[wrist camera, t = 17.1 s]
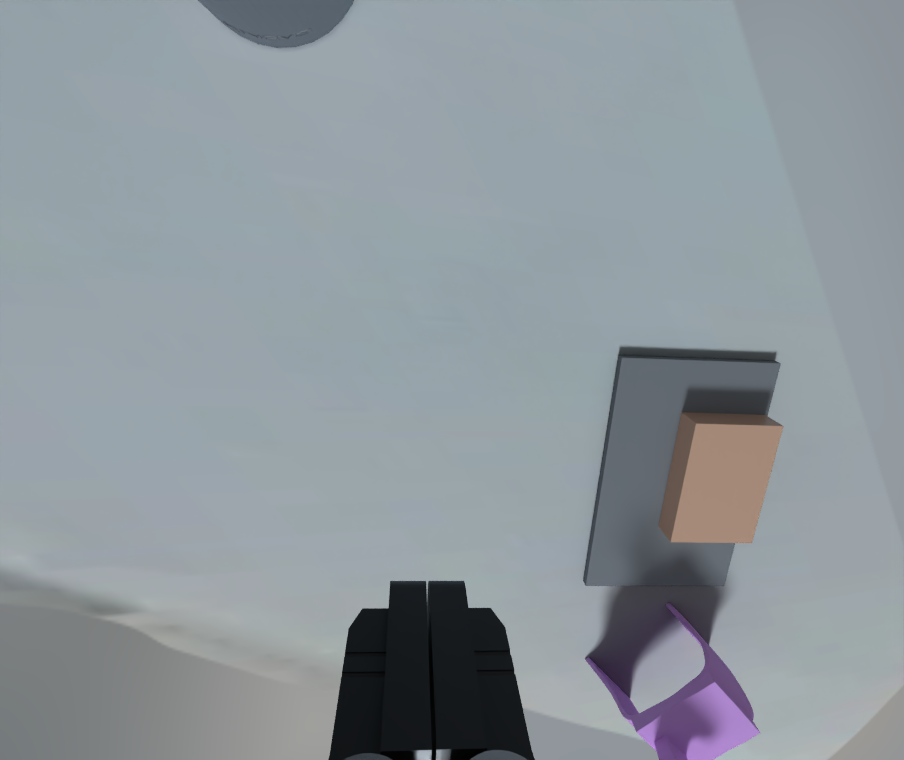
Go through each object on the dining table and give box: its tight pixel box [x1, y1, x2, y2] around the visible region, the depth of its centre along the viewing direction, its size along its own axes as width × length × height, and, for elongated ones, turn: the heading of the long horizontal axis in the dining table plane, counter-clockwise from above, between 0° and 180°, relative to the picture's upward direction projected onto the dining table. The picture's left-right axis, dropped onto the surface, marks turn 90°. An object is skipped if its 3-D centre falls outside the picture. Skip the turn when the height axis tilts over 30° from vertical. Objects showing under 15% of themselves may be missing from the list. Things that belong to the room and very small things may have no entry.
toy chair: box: [585, 602, 760, 760], centre depth 37 cm, size 8×9×15 cm
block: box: [658, 412, 783, 543], centre depth 38 cm, size 9×2×6 cm
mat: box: [583, 355, 781, 586], centre depth 39 cm, size 18×11×1 cm, turn 177°
